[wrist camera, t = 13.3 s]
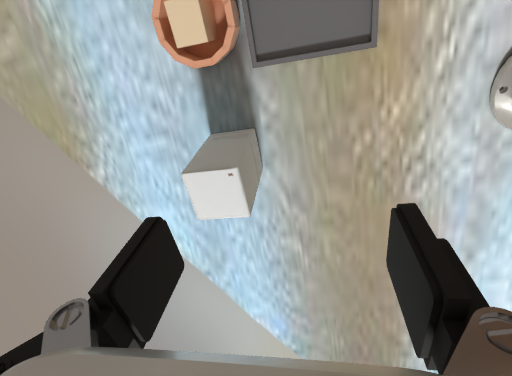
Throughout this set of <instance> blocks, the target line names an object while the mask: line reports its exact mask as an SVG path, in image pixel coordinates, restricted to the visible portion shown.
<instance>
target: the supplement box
mask: <svg viewBox="0 0 512 376" xmlns="http://www.w3.org/2000/svg"><path fill="white" fill-rule="evenodd" d="M262 170H263V167H262V162H261V157H260V152H259V147H258V142H257V137H256V133H255V129H254V128H253V129H245V130H237V131H230V132H223V133H216V134H211V135H210V136H209V137H208V139H207V140H206V141H205V143H204V144H203V145H202V147H201V148H200V149H199V151H198V152H197V153H196V155H195V156H194V157H193V159H192V160H191V161H190V163H189V164H188V165H187V167H186V168H185V169H184V171H183V172H182V173H181V176H182V179H183V181H184V184H185V186H186V189H187V191H188V194H189V197H190V199H191V202H192V204H193V207H194V210H195V212H196V215H197V218H198V220H204V219H220V218H239V217H250V215H251V211H252V208H253V204H254V200H255V196H256V192H257V188H258V185H259V181H260V177H261V173H262Z"/></svg>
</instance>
